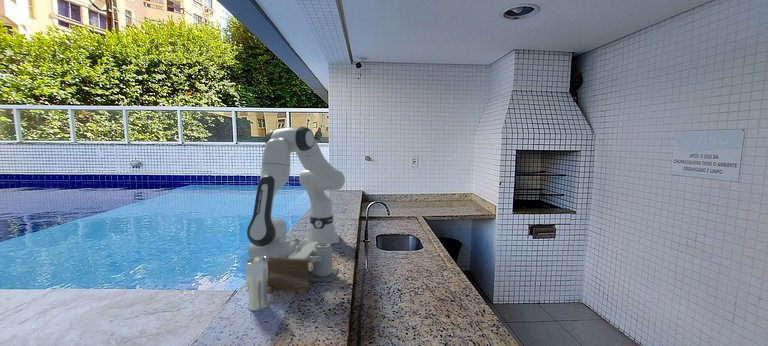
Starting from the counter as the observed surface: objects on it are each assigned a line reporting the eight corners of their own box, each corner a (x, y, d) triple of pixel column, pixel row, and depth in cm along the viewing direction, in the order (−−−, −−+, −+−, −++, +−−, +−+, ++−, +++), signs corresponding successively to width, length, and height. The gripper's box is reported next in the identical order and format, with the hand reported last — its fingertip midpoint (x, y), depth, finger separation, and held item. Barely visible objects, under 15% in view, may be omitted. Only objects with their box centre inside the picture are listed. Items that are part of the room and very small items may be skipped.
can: (334, 271, 125) (334, 242, 124) (328, 278, 117) (329, 248, 116) (316, 269, 126) (316, 241, 125) (309, 277, 118) (309, 246, 117)
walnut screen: (272, 284, 113) (272, 255, 112) (310, 286, 112) (310, 257, 111) (265, 292, 107) (264, 261, 106) (304, 294, 106) (304, 263, 105)
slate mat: (314, 269, 127) (314, 268, 127) (338, 270, 127) (338, 269, 127) (305, 280, 116) (305, 279, 116) (332, 282, 116) (332, 280, 116)
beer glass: (247, 313, 93) (246, 265, 92) (245, 303, 99) (244, 257, 98) (271, 308, 96) (271, 262, 95) (268, 298, 102) (268, 254, 101)
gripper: (279, 254, 111) (317, 256, 110) (299, 238, 131) (331, 239, 130) (280, 271, 112) (317, 273, 111) (299, 252, 132) (331, 253, 131)
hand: (325, 254), depth 121 cm, fingers closed on can, 7 cm apart
